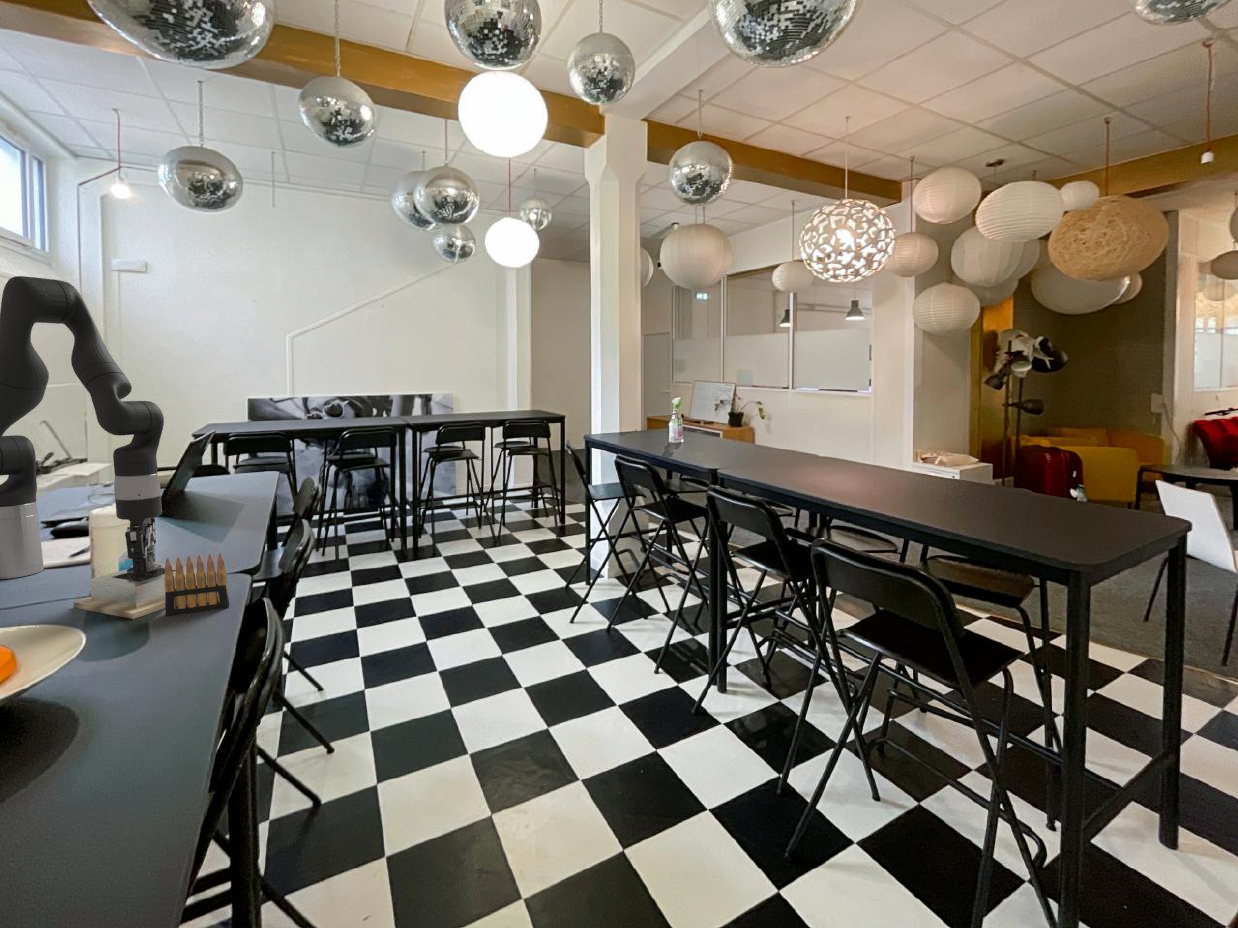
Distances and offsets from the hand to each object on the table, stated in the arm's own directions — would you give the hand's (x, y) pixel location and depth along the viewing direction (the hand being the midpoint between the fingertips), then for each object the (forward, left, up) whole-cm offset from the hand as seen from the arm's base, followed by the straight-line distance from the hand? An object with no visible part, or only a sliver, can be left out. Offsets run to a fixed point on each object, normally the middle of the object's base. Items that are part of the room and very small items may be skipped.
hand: (144, 570), depth 124 cm
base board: (0, 0, -6) cm, 6 cm away
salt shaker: (0, 0, -3) cm, 3 cm away
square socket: (0, 0, -5) cm, 5 cm away
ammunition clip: (+16, -1, -7) cm, 17 cm away
